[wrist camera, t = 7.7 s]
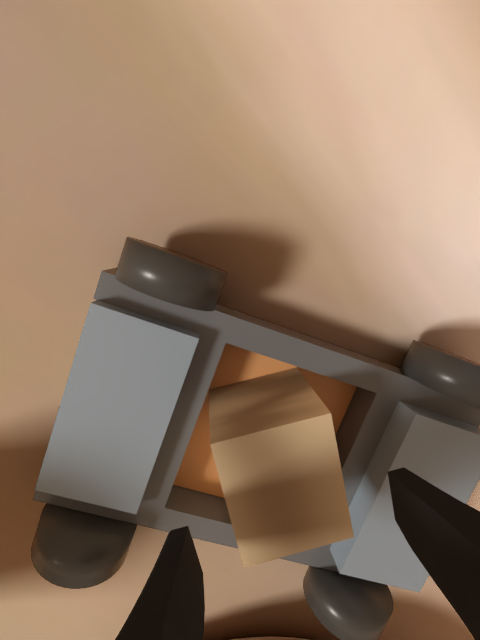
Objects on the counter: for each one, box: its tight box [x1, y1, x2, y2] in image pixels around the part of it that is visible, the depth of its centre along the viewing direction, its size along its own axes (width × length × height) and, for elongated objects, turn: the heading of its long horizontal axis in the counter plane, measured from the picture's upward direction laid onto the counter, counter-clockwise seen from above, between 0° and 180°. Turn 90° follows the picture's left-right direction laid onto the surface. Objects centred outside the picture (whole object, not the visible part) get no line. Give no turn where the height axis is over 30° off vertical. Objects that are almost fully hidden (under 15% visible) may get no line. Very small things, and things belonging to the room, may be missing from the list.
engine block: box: [209, 368, 354, 568], centre depth 16 cm, size 4×6×5 cm
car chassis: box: [31, 237, 480, 640], centre depth 16 cm, size 19×14×4 cm
